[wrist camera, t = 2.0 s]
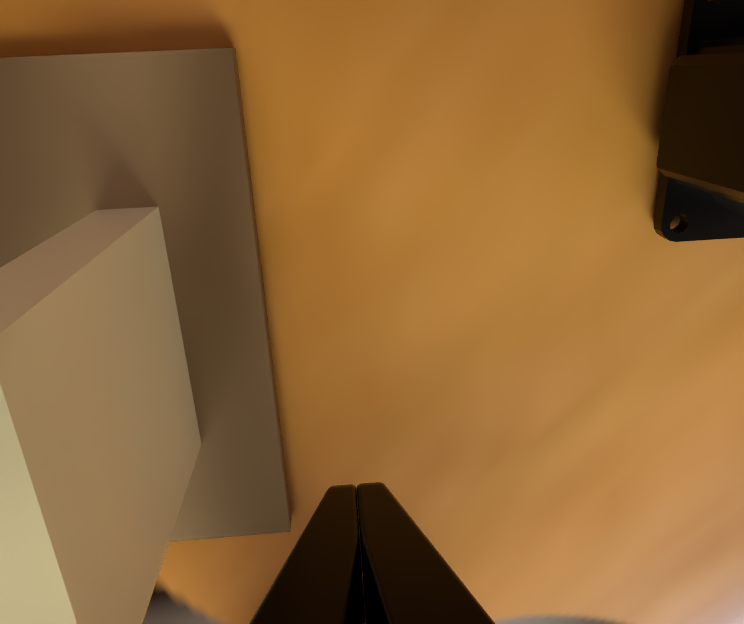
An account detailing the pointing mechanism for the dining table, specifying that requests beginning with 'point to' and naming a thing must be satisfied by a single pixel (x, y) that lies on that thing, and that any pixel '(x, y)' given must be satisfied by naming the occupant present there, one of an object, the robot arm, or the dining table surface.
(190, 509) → the board
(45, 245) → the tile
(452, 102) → the dining table surface
